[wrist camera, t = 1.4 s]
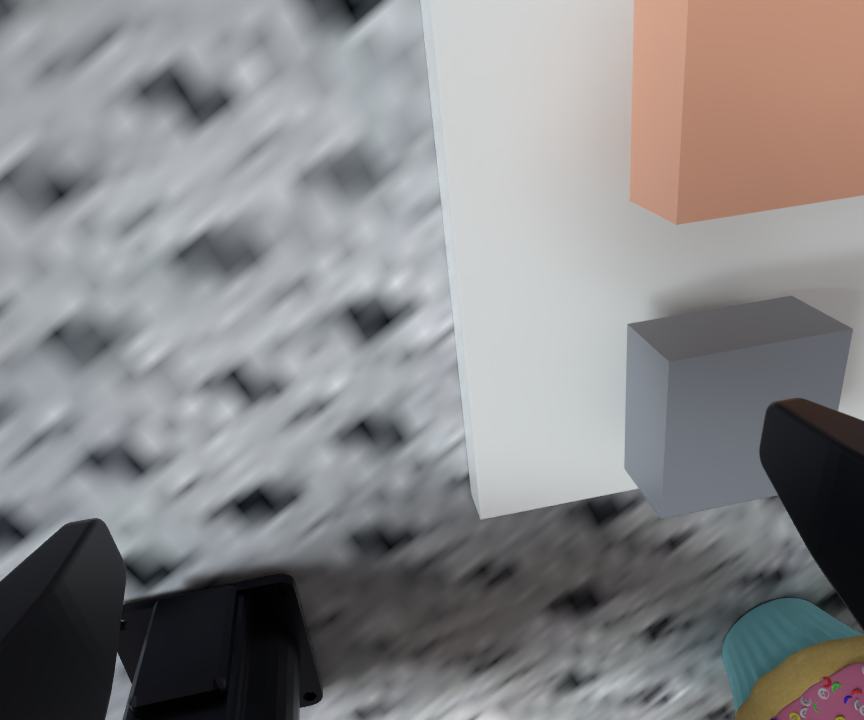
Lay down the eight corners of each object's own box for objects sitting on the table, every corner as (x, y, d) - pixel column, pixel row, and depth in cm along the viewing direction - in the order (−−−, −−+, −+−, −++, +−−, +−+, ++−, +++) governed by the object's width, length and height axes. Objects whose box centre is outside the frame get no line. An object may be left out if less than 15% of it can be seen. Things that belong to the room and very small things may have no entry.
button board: (831, 423, 26) (860, 444, 24) (471, 493, 24) (480, 519, 23) (1021, -632, 14) (1096, -702, 13) (357, -615, 13) (363, -690, 11)
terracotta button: (808, 173, 18) (878, 193, 16) (629, 200, 18) (676, 224, 15) (837, -43, 16) (923, -55, 14) (634, -19, 15) (689, -27, 13)
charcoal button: (771, 440, 22) (824, 485, 20) (624, 468, 21) (661, 519, 19) (791, 295, 20) (853, 328, 18) (627, 323, 19) (669, 361, 17)
